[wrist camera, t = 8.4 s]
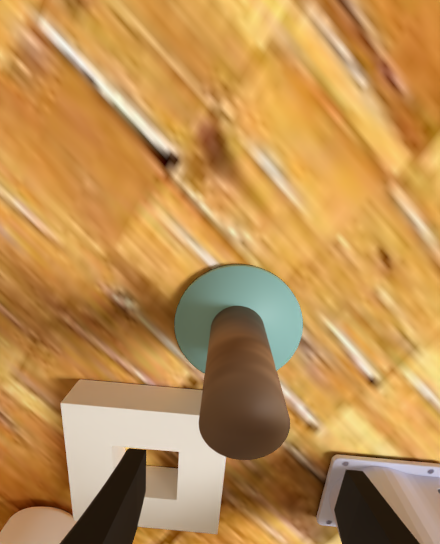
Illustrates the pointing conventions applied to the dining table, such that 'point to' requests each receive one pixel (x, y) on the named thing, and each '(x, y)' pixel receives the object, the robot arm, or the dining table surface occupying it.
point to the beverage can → (37, 526)
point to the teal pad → (238, 292)
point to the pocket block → (147, 435)
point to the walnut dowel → (241, 389)
